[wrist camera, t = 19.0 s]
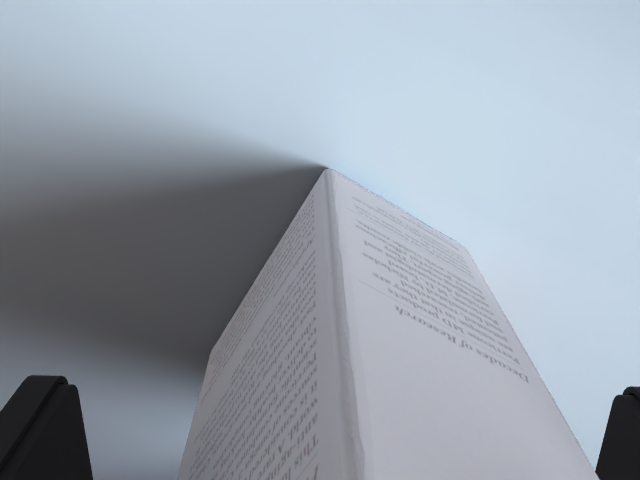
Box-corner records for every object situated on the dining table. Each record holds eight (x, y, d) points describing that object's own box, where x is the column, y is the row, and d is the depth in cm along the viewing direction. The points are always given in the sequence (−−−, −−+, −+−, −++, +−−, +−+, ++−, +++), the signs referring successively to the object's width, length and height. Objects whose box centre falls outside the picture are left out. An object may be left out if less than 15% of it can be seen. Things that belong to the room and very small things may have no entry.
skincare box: (346, 414, 17) (398, 1223, 6) (208, 348, 16) (-26, 1156, 5) (477, 242, 15) (928, 1004, 4) (328, 155, 14) (364, 828, 3)
